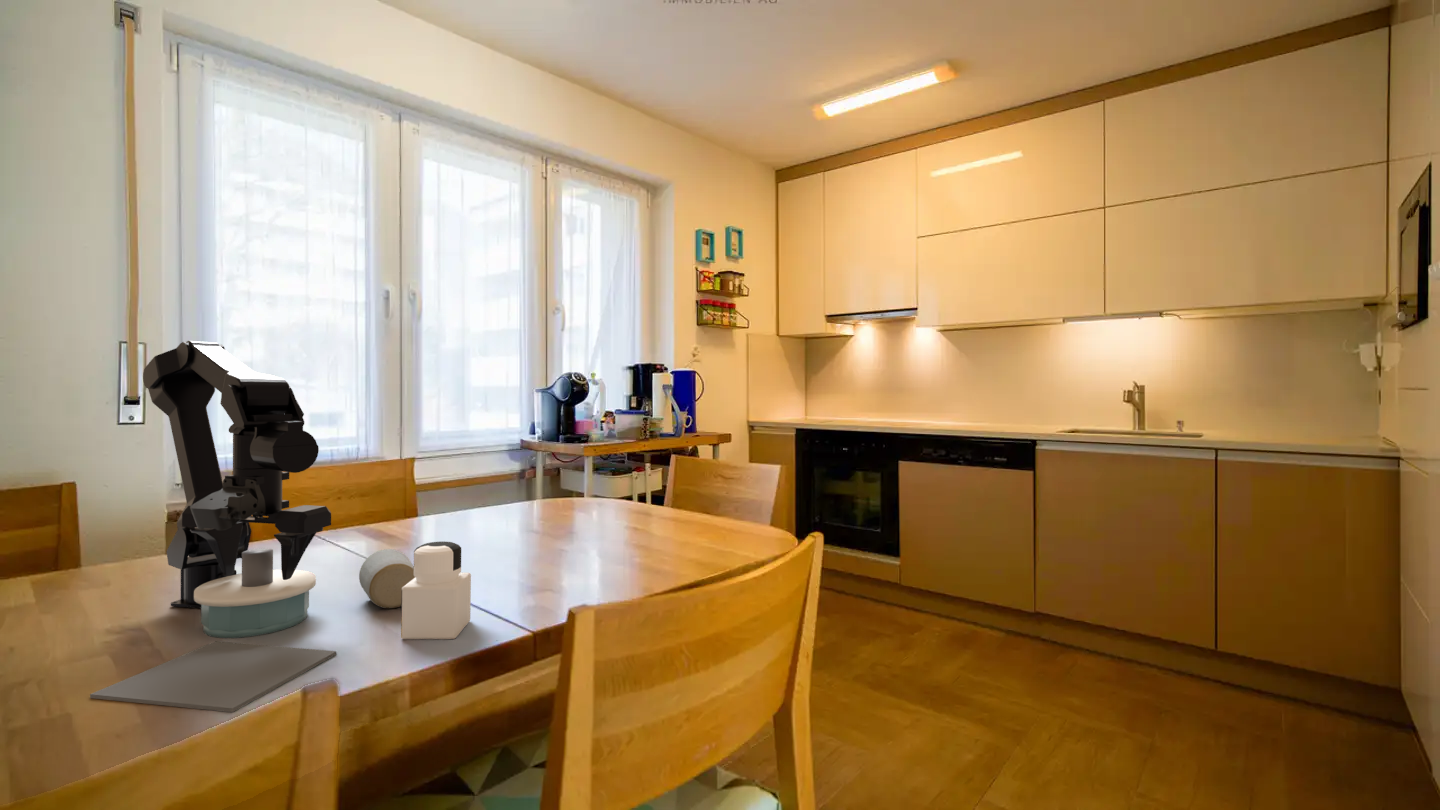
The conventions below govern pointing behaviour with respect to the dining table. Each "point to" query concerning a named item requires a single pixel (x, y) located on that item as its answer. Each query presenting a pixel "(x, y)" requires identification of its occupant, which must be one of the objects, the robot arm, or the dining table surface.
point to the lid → (254, 583)
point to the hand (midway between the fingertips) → (257, 577)
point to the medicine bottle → (436, 594)
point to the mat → (216, 676)
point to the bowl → (254, 617)
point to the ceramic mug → (386, 577)
